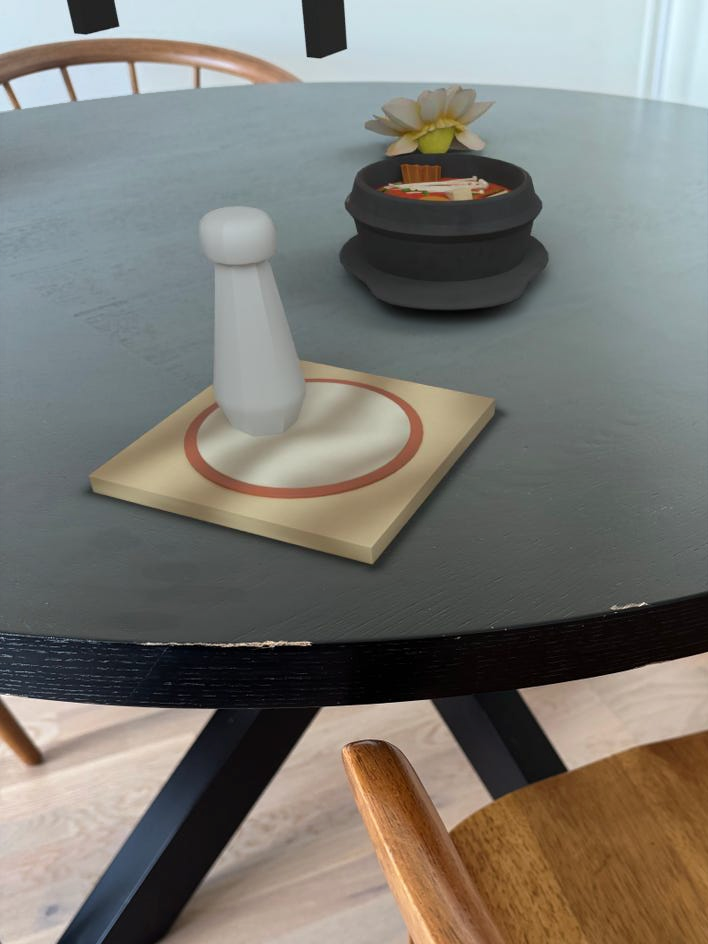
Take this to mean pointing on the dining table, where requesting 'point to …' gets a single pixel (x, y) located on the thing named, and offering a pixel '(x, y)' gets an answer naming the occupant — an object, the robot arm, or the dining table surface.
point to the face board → (306, 462)
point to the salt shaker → (250, 325)
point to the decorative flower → (431, 121)
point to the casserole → (444, 231)
